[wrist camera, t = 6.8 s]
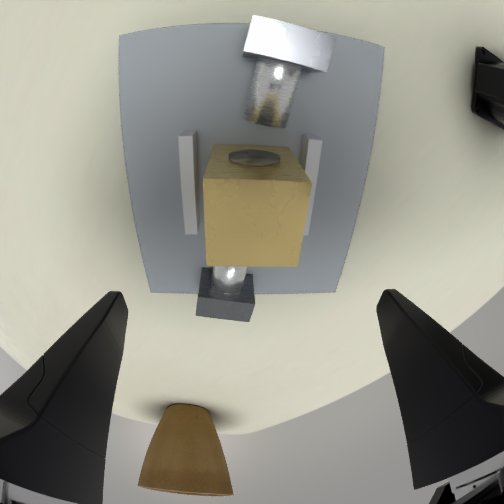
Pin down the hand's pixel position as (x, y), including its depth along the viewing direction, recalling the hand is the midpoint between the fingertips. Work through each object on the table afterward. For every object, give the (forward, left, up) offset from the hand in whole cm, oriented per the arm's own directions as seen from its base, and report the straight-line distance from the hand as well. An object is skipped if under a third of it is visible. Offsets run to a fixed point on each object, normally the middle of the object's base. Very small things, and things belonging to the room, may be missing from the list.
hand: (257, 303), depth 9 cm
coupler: (0, 0, -11) cm, 11 cm away
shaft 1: (+1, +7, -10) cm, 12 cm away
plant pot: (+9, +41, -12) cm, 44 cm away
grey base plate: (0, 0, -12) cm, 12 cm away
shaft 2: (-1, -7, -11) cm, 13 cm away
